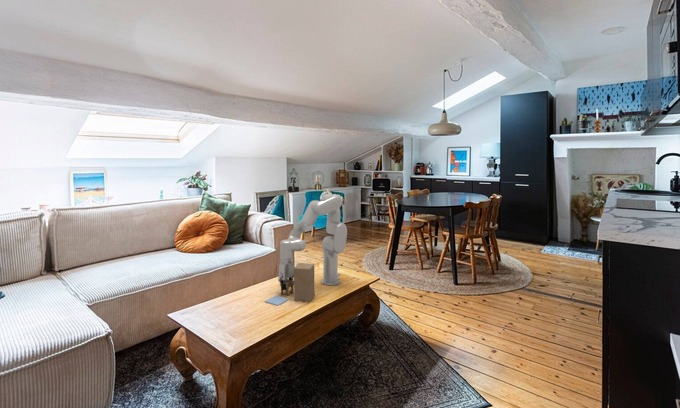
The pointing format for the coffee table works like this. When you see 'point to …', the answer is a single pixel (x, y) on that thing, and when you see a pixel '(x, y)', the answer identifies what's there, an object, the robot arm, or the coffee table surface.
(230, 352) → the coffee table surface
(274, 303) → the mat
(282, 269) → the robot arm
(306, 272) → the wooden block
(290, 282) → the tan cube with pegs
